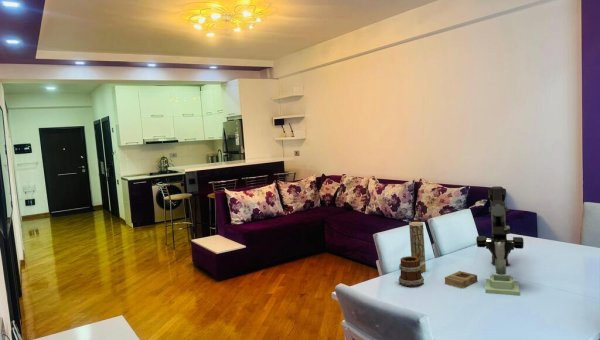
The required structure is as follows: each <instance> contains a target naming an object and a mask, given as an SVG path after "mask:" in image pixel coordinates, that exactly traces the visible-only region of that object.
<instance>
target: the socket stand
mask: <svg viewBox="0 0 600 340" xmlns="http://www.w3.org/2000/svg"><path fill="white" fill-rule="evenodd" d="M485 293H487V294H500V295H511V296H512V295H513V296H521V295H520V293H521V291H520V287H519V280H514V276H512V275H509V274H505V275H499V274H493V273H492V274H490V275H489V278H485Z"/></svg>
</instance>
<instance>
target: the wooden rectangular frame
mask: <svg viewBox="0 0 600 340" xmlns="http://www.w3.org/2000/svg"><path fill="white" fill-rule="evenodd" d="M477 282H478V275H477V274H474V273H469V272H465V271H462V270H459V271H456V272H454V273H452V274H449V275H447V276H445V277H444V284H445V285H448V286H451V285H452V287H454V288H455V287H456V288H459V289H462V288H463V289H465V288H467V287H469V286H472V285H473V284H475V283H477Z"/></svg>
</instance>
